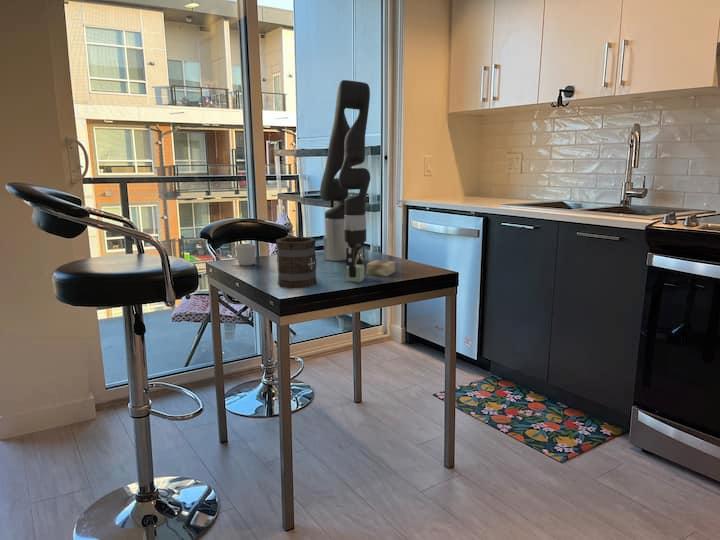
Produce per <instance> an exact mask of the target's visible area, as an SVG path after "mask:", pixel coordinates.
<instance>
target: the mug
mask: <svg viewBox="0 0 720 540" xmlns="http://www.w3.org/2000/svg"><path fill="white" fill-rule="evenodd" d="M275 241H276V243H275V244H276V250H277V257H276V258H277V259H276V263H277V264H276V265H277V275H278V276H277V278H278V279H277V285H278V286H279V288H285V289H304V288H305V289H306V287H307V288H311V287H313V286H316V285H317V284H318V283H317V272H316V271H317V256H316V241H317V239H315V238H314V237H309V236H308V237H307V236H291V237H290V236H288V237H287V236H286V237H282V238H278V239H275ZM310 286H311V287H310Z"/></svg>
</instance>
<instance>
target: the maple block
mask: <svg viewBox="0 0 720 540" xmlns="http://www.w3.org/2000/svg"><path fill="white" fill-rule="evenodd" d="M395 272H396V261H392V260H380V259H374V260H372V261H370V262H368V263H366V275H373V276H374V275H375V276H385V277H388V276H390V275H392V274H393V273H395Z"/></svg>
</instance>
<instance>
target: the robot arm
mask: <svg viewBox="0 0 720 540" xmlns="http://www.w3.org/2000/svg"><path fill="white" fill-rule="evenodd" d="M336 93H337V94H336V100H335V111H334V118H333V125H332V128H331V134H330V138H329V144H328V150H327V156H326V157H327V158H326V163H325V167H324V171H323V175H322V179H321V182H320V187H319V189H320V190H319V195H320V198H321V200H322V201H324V202H337V203H336V204H335V206H333V207H332V208H328V209H326V210H325V212H324V230H325V231H324V235H325V236H323V260H327V261H332V262H333V261H334V262H335V261H336V262H337V261H339V262H341V261H345V262H346V264H345V265H346V267H347V266H349V277H353V278H354V277H356V264H357V265H364V264H363V262H364V259H365V257H366V256H365V242H367V217H366V201H367V194H368V189H369V188H370V187H369V186H370V183H371V173H370V171H369V170H368V169H367V168H365V167H356V168H355V166H358V165H361V164H363V163H364V162H365V159H366V131H367V125H368V117H369V109H370V98H371V88H370V86H369V84H368V83H366V82H363V81H362V82H361V81H355V80H348V79H347V80H346V79H343V80H341V81H340V82H339V84H338V88H337V92H336ZM346 109H350V110H356V111H358V112H359V113H358V116H357V118H356V120H355V122H354V123H353V124H352V125H351V127H350V125H349V123H348V121H347V120H348V119H347V117H346V113H345V110H346ZM338 172H339V174H338ZM337 174H338V177H337V178H336V175H337ZM349 190H351V191H352V190H353V191H354V190H359V192H358V193H357V194H356V195H351V196H349Z"/></svg>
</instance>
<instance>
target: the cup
mask: <svg viewBox="0 0 720 540" xmlns="http://www.w3.org/2000/svg"><path fill="white" fill-rule="evenodd" d="M256 250H257V245H256V244H255V243H239V244H236V245H235V246H234V247H232V248H231V250H230V253H231V256H232V258H233V259H236V260H237V263H238V265H239V266H243V267H247V266H252V265H254V264H255V263H256V254H257V251H256ZM235 253H236V255H235Z"/></svg>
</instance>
